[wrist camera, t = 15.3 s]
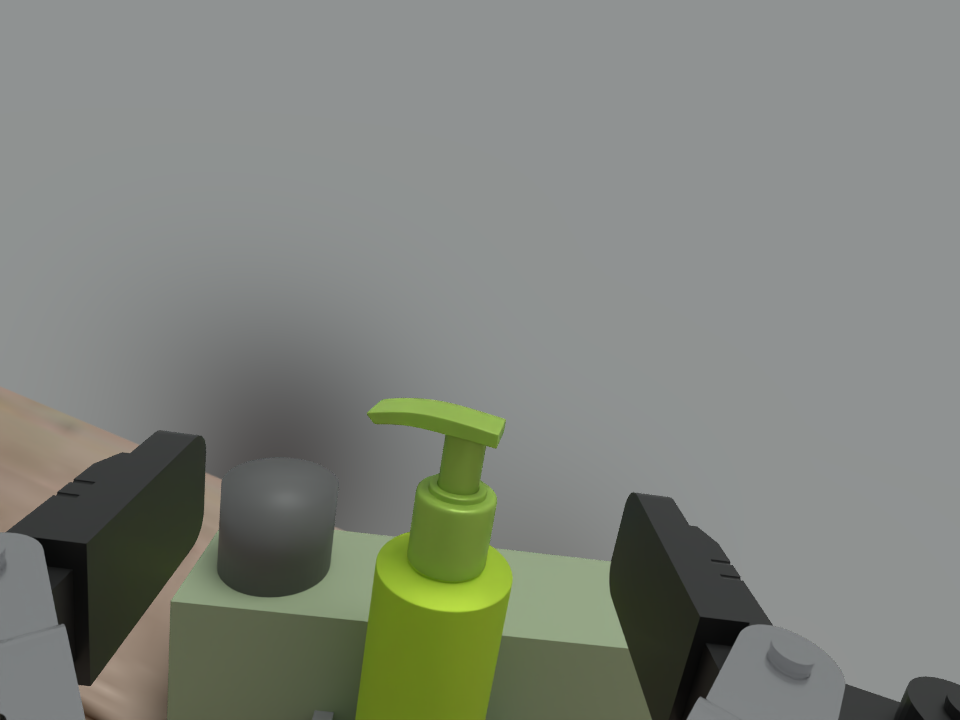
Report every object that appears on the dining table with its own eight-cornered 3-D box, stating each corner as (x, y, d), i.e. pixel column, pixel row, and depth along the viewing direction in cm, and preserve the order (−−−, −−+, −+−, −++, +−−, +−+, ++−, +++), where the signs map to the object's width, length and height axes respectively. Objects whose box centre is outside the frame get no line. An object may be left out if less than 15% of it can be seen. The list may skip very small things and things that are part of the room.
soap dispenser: (352, 729, 34) (397, 376, 28) (477, 766, 33) (548, 408, 27) (301, 834, 28) (347, 417, 23) (451, 883, 27) (534, 459, 22)
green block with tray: (721, 1044, 25) (828, 767, 21) (32, 1010, 23) (17, 694, 19) (607, 678, 43) (653, 495, 39) (219, 639, 41) (231, 442, 37)
